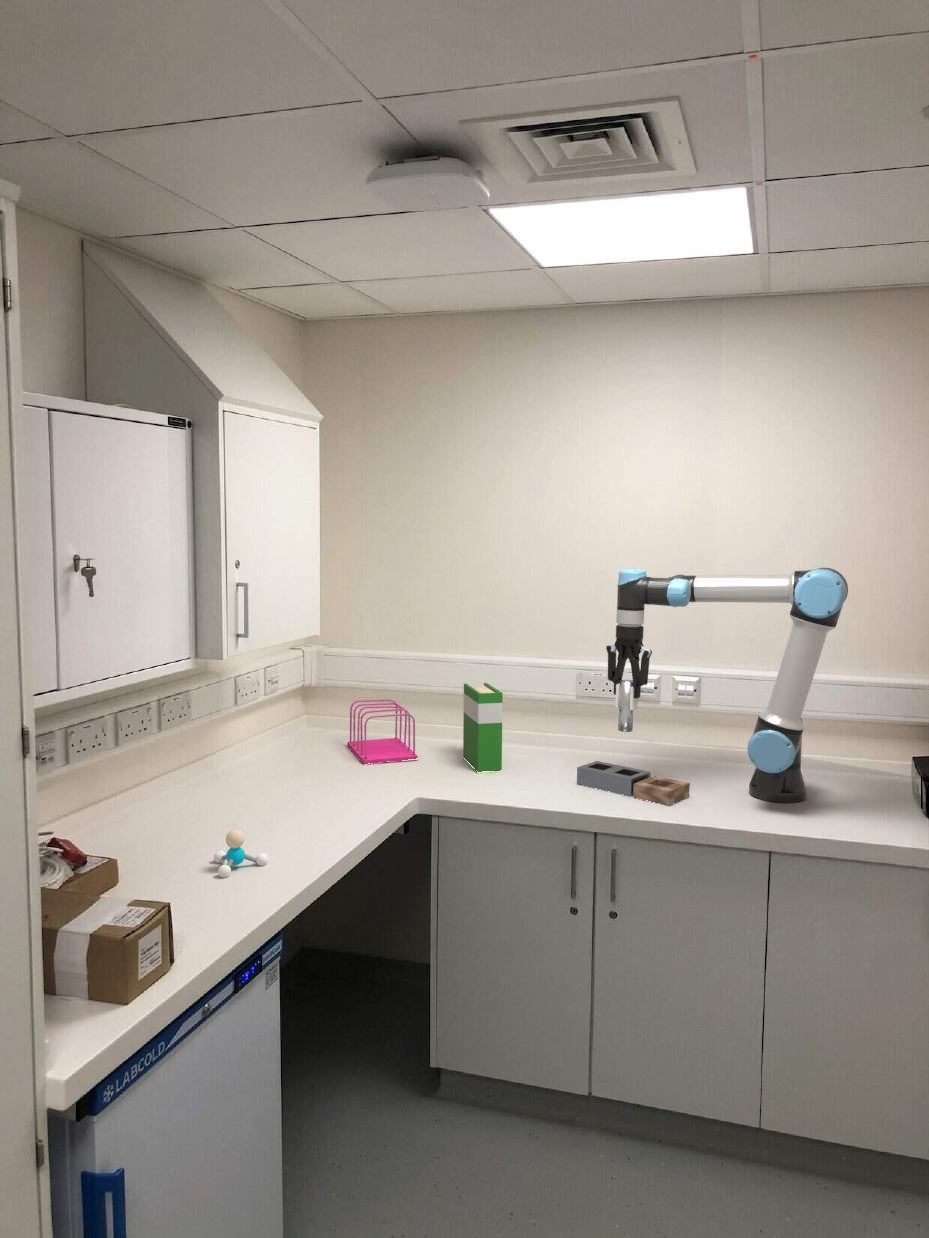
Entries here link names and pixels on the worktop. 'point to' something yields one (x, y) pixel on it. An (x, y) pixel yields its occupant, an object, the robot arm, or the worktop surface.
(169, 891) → the worktop surface
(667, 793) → the walnut socket block
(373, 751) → the file sorter
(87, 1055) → the worktop surface
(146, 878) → the worktop surface
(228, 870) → the molecule model
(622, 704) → the silver metal cylinder
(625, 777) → the block
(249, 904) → the worktop surface
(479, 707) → the hardback book
